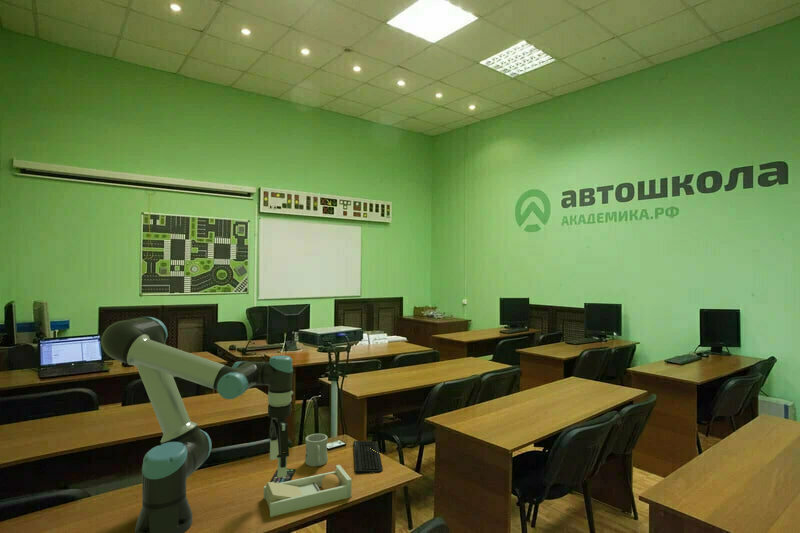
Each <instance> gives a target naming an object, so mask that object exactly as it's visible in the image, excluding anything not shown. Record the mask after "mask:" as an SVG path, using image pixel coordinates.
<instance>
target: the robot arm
mask: <svg viewBox="0 0 800 533" xmlns="http://www.w3.org/2000/svg"><path fill="white" fill-rule="evenodd" d="M168 336H169V335H168V329H167V326H166V325H165V324H164V322H163V321H161V320H160V319H158V318H156V317H152V316H140V317H136V318H135V317H134V318H131V319H130V318H129V319H125V320H124V319H123V320H119V321H115V322H114V323H112V324H111V325H109V326H108V327H107V328H106V329H105V330H104V331H103V333H102V335H101V342H100V344H101V347H102V350H103V352H104V353H105V354H106V355H107V356H109V357H110V358H112V359H114V360H115V361H119V362H121V363H125V364H127V365H130V366H134V367H136V368H137V371H138V374H139V377H140V379H141V381H142V384H143V385H144V388H145V391H146V393H147V396H148V399H149V402H150V404H151V406H152V409H153V411H154V414H155V417H156V419H157V422H158V424H159V427H160V429H161V431H162V437H161V440H160V445H156V446H154V447H152V448H151V449H149V450H148V451H147V452H146V453H145V454H144V457H143V460H142V461H143V462H142V466H141V467H142V468H141V474H142V475H141V477H142V484H141V485H142V488H141V489H142V490H141V491H142V495H141V496H142V498H141V499H142V502H141V503H142V506H141V509H140V511H139V515H138V518H137V521H136V524H135V527H134V528H135V529H134V533H185V532H187V531H188V530H189V528H190V527H191V526H192V524H193V512H192V508H191V506H190V503H189V501H188V498H187V480H188V478H189V477H190V476H191V475H193V473H194V472H196V470H198V469H199V468H200V467H201V466H202V465H204V463H205V462H206V461H207V459H208V458H209V457H210V454H211V452H212V439H211V438H210V437H211V436H209V434H208V433H207V432H206V431H204V430H202V429H200V428H199V425H198V423H196V422H194V421H191V419H190V416H189V414H188V410H187V409H186V406H185V403H184V401H183V398H182V396H181V394H180V391H179V389H178V386H177V383H176V380H175V378H174V377H176V378H180V379H183V380H186V381H189V382H192V383H194V384H198V385H200V386H202V387H206V388H209V389H213V390H215V391H217V393H218V394H219V396H221V398H223V399H226V400H234V399H236V398H238V397H240V396H242V395H244V394H245V393H246V391H247V390H249V389H250V388H252V387H254V386H268V392H267V393H268V395H267V403H268V405H267V416H268V418H269V417H270V418H271V420H270V427H269V434H268V436H269V439H270V442H269V461H274V460H275V461H276V460H277V469H278V474H277V477H278V478H279V477H284V476H287V469H288V468H287V467H288V457H289V456H290V451H289V449H290V448H289V437H288V436H289V434H288V433H289V432H288V426H289V425H288V423H287V421H286V418H287V417H289V416H291V414H292V396H293V395H294V391H293V389H292V388H293V387H292V386H293V375H294V374H293V372H294V369H293V358H292V357H291V356H290V355H281V354H280V355H272V356H271V357H270V358H269V361H249V360H248V361H247V360H243V361H236V362H234V363H233V365H232V366H228V365H225V364H223V363H220V362H216V361H214V360H211V359H209V358H205V357H202V356H199V355H196V354H194V353H191V352H187V351H184V350H182V349H179V348H176V347H173V346H170V345H167V343H166V341H167V338H168Z"/></svg>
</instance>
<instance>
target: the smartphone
mask: <svg viewBox="0 0 800 533" xmlns="http://www.w3.org/2000/svg"><path fill="white" fill-rule="evenodd" d="M295 472H296V468H287V476H284V477H279V478H278V477H277V474H278V468H276V470H275V472H274V473H273V475H272V476H271V479H270V480H269V482H273V483H282V482H286V481H291V480H293V476H294V475H295Z"/></svg>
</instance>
